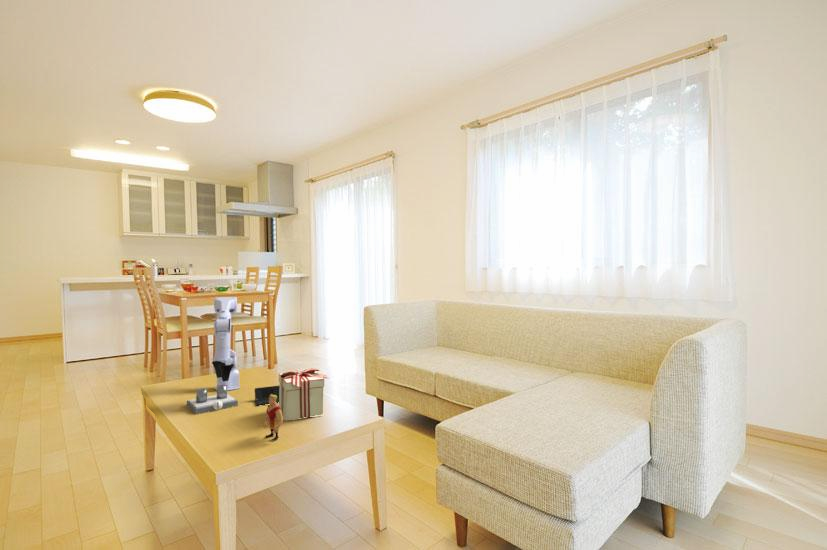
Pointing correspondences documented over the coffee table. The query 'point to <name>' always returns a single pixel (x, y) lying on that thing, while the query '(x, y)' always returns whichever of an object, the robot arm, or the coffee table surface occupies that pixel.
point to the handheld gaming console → (265, 394)
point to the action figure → (273, 416)
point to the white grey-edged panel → (211, 404)
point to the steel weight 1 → (201, 395)
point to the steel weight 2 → (221, 391)
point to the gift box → (301, 394)
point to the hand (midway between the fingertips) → (222, 379)
